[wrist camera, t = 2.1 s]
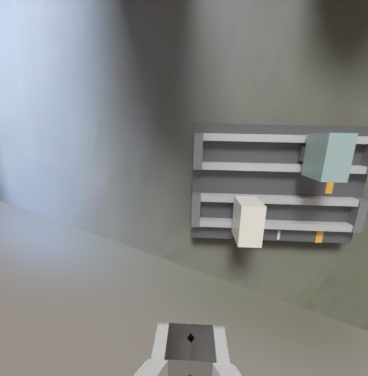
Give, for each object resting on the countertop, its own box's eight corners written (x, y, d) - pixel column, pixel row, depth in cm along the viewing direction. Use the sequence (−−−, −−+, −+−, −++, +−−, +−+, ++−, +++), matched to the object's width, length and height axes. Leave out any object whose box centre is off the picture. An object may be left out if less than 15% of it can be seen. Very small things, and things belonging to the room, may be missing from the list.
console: (191, 230, 29) (190, 242, 26) (194, 124, 25) (194, 123, 22) (339, 235, 28) (357, 248, 25) (364, 127, 24) (388, 126, 21)
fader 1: (229, 226, 26) (237, 247, 21) (232, 192, 25) (241, 206, 20) (249, 227, 26) (261, 247, 21) (252, 193, 25) (266, 206, 20)
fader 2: (295, 172, 24) (320, 182, 19) (301, 133, 23) (330, 132, 18) (317, 173, 24) (347, 182, 19) (324, 133, 23) (358, 133, 18)
